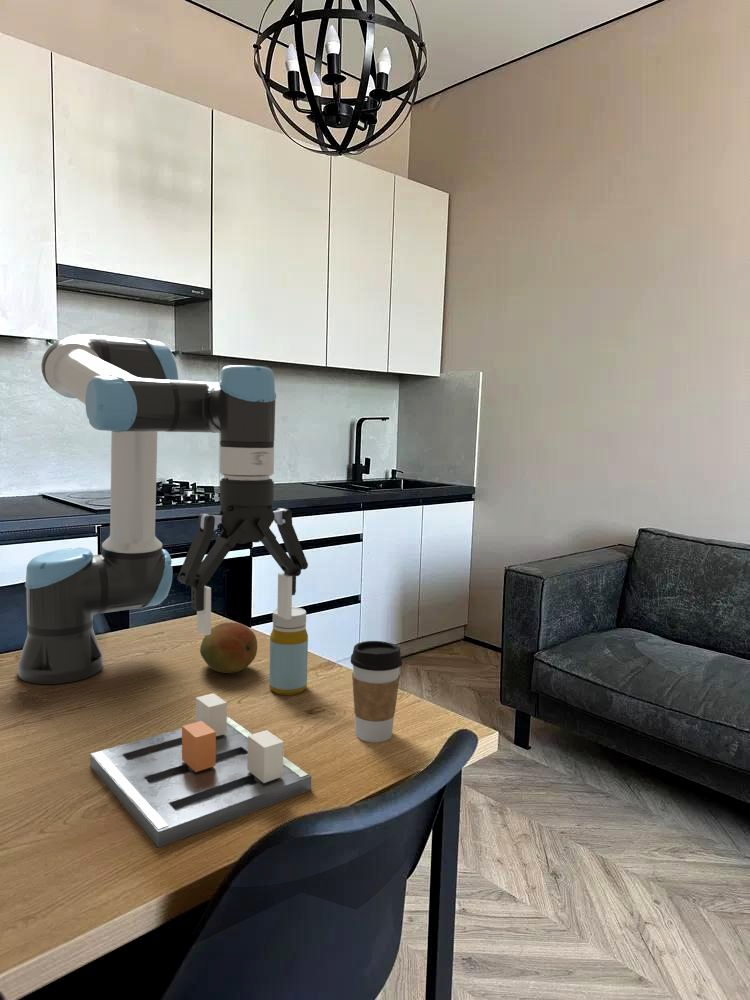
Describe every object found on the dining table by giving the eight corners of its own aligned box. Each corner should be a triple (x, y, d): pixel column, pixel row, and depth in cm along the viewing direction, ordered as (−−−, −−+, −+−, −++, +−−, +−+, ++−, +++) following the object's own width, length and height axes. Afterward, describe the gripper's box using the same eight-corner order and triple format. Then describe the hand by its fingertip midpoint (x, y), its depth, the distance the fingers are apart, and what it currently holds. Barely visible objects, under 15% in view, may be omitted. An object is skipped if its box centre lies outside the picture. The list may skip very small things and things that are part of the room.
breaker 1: (195, 734, 111) (195, 697, 110) (213, 729, 113) (213, 693, 112) (208, 744, 108) (208, 707, 107) (226, 739, 110) (226, 702, 109)
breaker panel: (90, 766, 103) (90, 752, 102) (227, 727, 117) (227, 715, 116) (158, 847, 84) (158, 831, 84) (311, 789, 99) (311, 775, 98)
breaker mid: (181, 765, 101) (181, 726, 100) (201, 759, 103) (201, 720, 102) (195, 778, 98) (195, 737, 97) (215, 772, 100) (215, 731, 99)
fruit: (228, 687, 134) (228, 635, 132) (181, 672, 140) (181, 623, 139) (269, 669, 143) (269, 621, 142) (223, 656, 150) (223, 610, 149)
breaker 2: (247, 776, 99) (247, 735, 98) (265, 769, 101) (266, 729, 100) (263, 789, 96) (264, 747, 95) (282, 782, 97) (283, 741, 97)
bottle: (262, 692, 132) (263, 613, 130) (281, 679, 138) (282, 604, 136) (295, 698, 129) (297, 618, 127) (313, 685, 136) (315, 609, 134)
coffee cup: (362, 750, 110) (365, 657, 109) (339, 728, 118) (342, 640, 116) (408, 740, 114) (412, 650, 112) (384, 719, 122) (387, 635, 120)
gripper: (176, 482, 89) (176, 647, 92) (333, 476, 105) (329, 616, 108) (151, 477, 95) (153, 632, 98) (304, 472, 111) (301, 606, 114)
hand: (245, 624), depth 103 cm, fingers open, 12 cm apart
